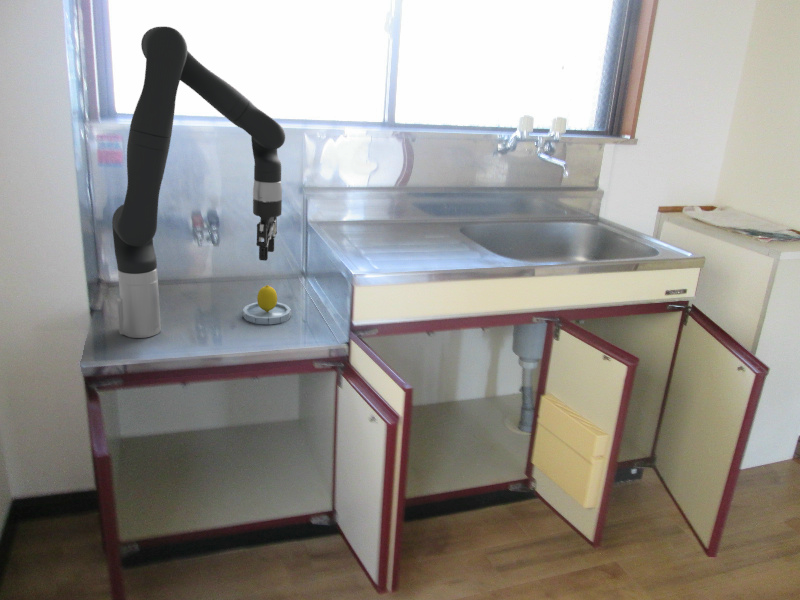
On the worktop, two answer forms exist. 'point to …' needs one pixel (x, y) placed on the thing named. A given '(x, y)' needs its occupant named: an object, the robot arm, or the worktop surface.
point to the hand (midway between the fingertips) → (266, 255)
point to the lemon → (267, 298)
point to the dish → (266, 314)
